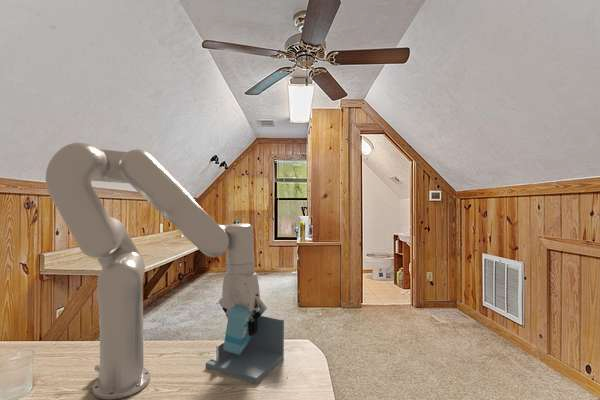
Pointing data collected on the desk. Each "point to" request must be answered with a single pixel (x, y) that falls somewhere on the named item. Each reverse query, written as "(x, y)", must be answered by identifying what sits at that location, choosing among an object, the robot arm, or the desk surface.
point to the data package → (237, 330)
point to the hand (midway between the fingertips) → (242, 331)
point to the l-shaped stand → (255, 353)
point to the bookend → (220, 353)
